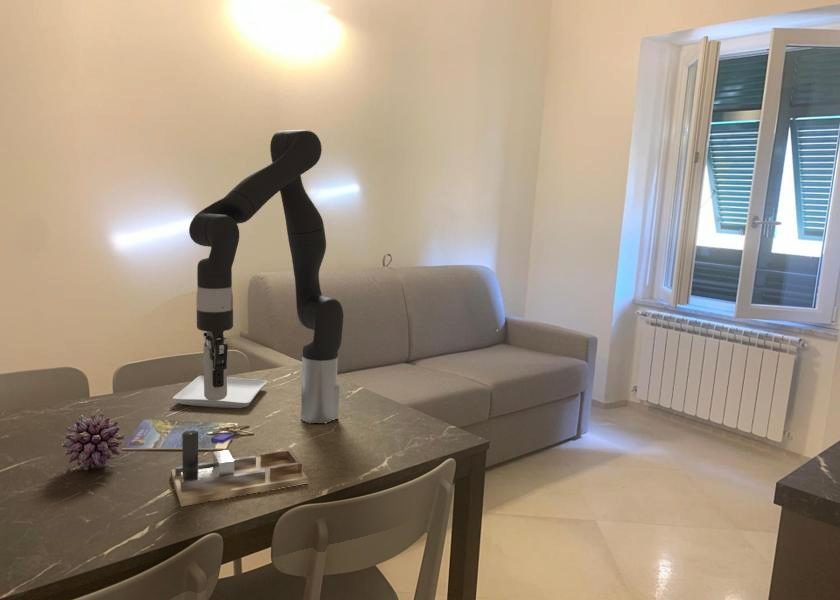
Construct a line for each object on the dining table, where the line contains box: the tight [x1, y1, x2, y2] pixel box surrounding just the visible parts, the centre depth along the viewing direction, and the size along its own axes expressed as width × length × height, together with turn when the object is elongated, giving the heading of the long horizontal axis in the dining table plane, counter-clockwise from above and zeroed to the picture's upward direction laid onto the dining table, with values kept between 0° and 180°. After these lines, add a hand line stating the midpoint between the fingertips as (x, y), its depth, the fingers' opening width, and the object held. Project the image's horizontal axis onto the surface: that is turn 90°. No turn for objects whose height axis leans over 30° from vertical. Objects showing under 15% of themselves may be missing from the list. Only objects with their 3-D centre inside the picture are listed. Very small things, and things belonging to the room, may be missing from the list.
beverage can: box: [203, 344, 228, 401], centre depth 140 cm, size 5×5×12 cm
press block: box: [181, 430, 234, 482], centre depth 129 cm, size 10×6×10 cm, turn 118°
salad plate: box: [172, 375, 268, 409], centre depth 183 cm, size 21×21×3 cm
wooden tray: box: [170, 448, 309, 507], centre depth 133 cm, size 25×14×4 cm, turn 118°
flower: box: [60, 412, 125, 471], centre depth 134 cm, size 12×12×12 cm
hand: (215, 382), depth 141 cm, fingers closed on beverage can, 4 cm apart
